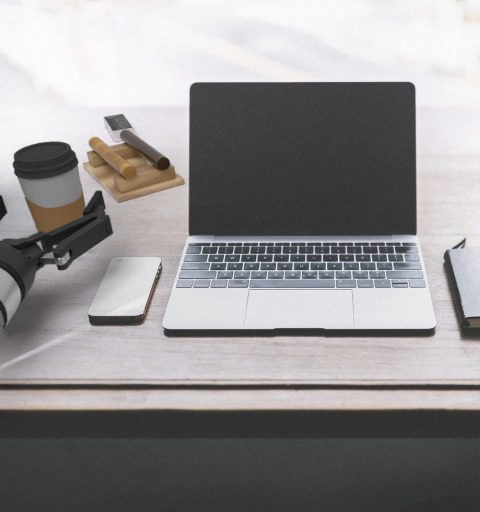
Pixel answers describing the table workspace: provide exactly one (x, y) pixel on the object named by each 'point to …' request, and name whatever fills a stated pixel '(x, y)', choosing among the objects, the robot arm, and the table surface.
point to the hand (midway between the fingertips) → (51, 201)
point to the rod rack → (130, 167)
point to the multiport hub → (117, 126)
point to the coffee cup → (50, 183)
